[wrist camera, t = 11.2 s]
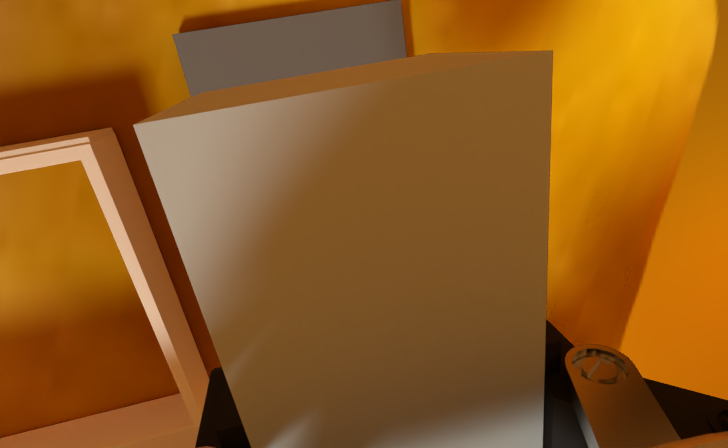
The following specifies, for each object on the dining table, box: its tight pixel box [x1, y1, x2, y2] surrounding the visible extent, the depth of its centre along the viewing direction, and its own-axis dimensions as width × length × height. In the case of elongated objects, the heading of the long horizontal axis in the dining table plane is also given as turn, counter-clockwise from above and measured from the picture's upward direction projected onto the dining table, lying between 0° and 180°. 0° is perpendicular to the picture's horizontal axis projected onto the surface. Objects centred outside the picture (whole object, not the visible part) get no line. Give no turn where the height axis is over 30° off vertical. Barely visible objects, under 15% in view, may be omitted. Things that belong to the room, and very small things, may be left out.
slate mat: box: [172, 0, 407, 97], centre depth 24 cm, size 11×17×1 cm, turn 9°
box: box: [133, 51, 553, 448], centre depth 10 cm, size 6×12×5 cm, turn 9°
